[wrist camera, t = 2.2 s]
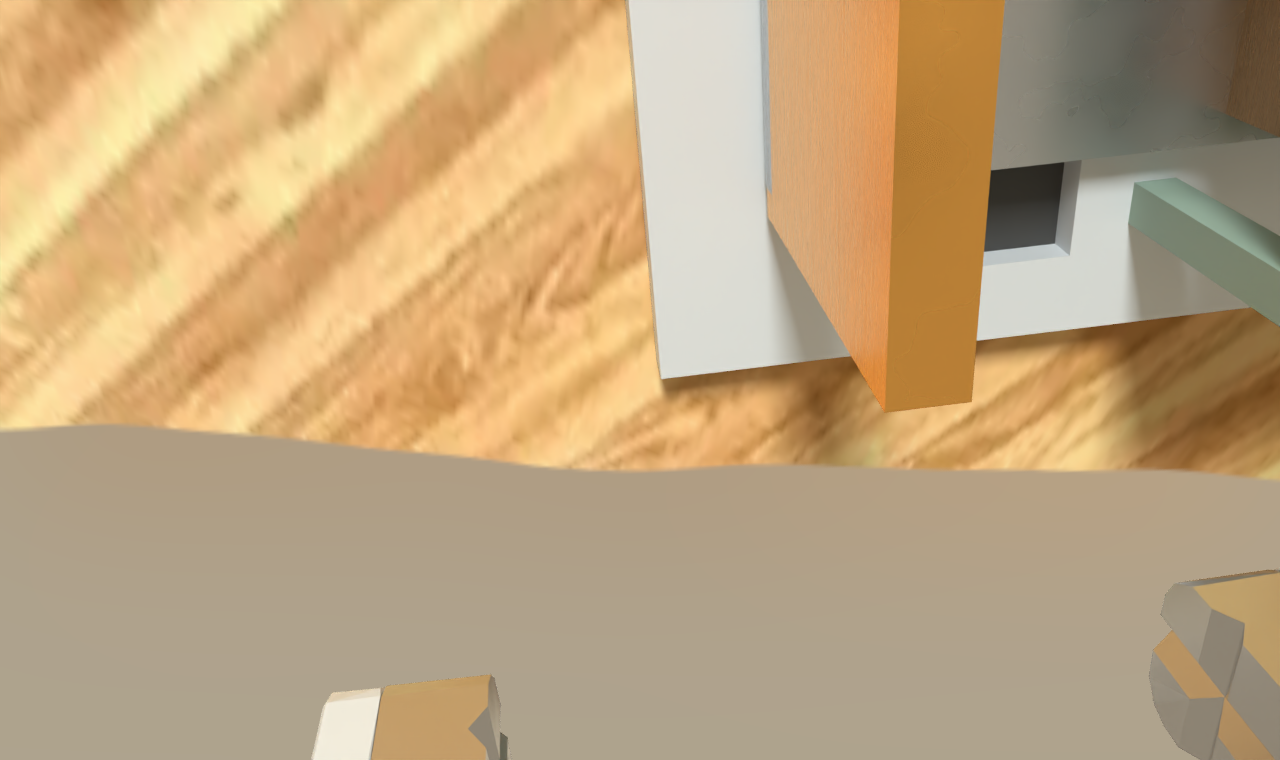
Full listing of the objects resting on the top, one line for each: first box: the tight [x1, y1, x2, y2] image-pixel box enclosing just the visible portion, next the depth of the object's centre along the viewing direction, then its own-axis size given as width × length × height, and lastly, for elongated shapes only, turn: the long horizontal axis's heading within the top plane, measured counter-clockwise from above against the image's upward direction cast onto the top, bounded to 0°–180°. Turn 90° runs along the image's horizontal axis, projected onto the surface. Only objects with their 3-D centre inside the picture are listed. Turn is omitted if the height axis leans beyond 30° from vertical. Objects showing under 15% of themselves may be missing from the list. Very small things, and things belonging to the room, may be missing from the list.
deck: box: [625, 0, 1280, 379], centre depth 34 cm, size 38×22×2 cm, turn 95°
